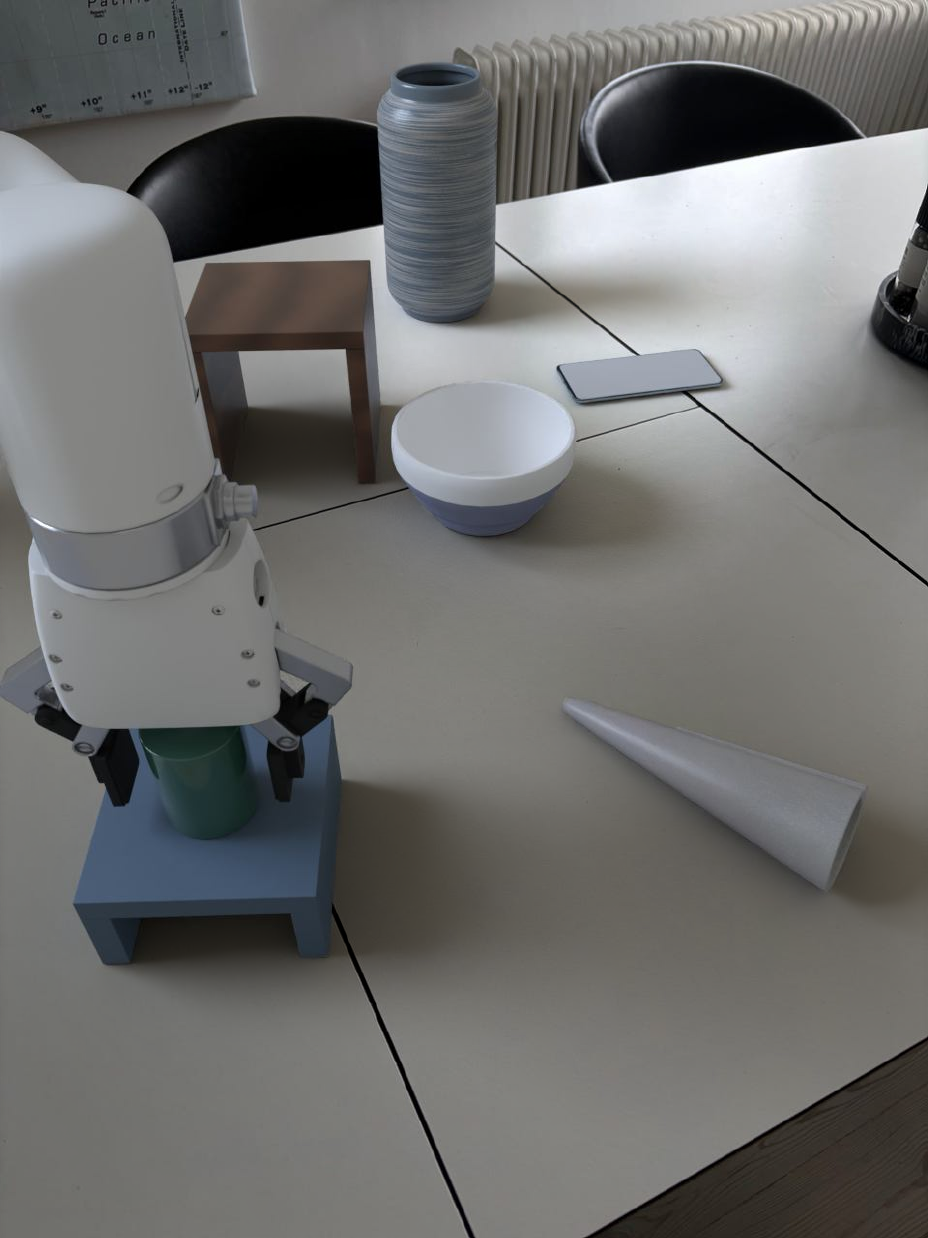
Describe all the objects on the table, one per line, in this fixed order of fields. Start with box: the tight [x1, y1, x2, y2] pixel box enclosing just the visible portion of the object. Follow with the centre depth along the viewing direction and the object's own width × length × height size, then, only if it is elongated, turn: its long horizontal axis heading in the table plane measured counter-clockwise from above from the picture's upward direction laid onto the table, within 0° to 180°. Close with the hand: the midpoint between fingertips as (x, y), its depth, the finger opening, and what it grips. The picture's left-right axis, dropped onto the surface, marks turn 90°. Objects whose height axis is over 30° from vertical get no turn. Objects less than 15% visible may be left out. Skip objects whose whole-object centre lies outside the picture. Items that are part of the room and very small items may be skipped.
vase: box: [376, 61, 498, 324], centre depth 102 cm, size 12×12×23 cm
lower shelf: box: [72, 714, 343, 965], centre depth 56 cm, size 12×12×6 cm
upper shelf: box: [185, 259, 382, 485], centre depth 85 cm, size 14×13×14 cm
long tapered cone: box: [562, 696, 869, 894], centre depth 60 cm, size 6×6×19 cm
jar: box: [138, 725, 260, 840], centre depth 52 cm, size 5×5×6 cm
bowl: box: [390, 380, 578, 537], centre depth 80 cm, size 14×14×8 cm
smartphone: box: [555, 348, 724, 404], centre depth 98 cm, size 7×1×15 cm
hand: (206, 781), depth 53 cm, fingers open, 7 cm apart
